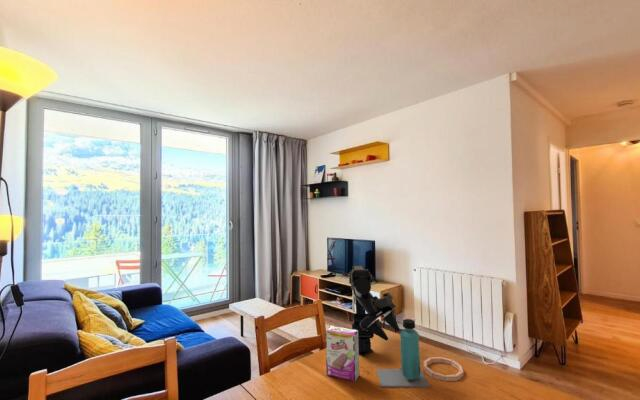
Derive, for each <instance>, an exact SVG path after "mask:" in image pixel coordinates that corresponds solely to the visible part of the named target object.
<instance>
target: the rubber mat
mask: <svg viewBox="0 0 640 400" xmlns="http://www.w3.org/2000/svg"><path fill="white" fill-rule="evenodd" d="M376 372H377V377H378V380H379V384H380V387H381V388H430V387H431V386H430V384H429V382H428V380H427V379H426V376H425V374H424V373H423V370H422V369H421V370H420V374H421V375H420V377H419V378H417V379H409V378H406V377H404V376H403V374H402V369H400V368H395V369H394V368H392V369H391V368H388V369H387V368H386V369H385V368H383V369H382V368H381V369H380V368H379V369H378V368H377V369H376Z"/></svg>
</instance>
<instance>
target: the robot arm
mask: <svg viewBox="0 0 640 400" xmlns="http://www.w3.org/2000/svg"><path fill="white" fill-rule="evenodd" d="M348 283H349V285H350V289H351V290H352V291H353V294H352V295H354V296H353V297H354V301H355V304H354V305H355V313H354V314H353V318H352V319H353V320H352V321H353V322H352V323H351V329H354V330H358V342H359V356H361V357H364V356H367V355H368V354H370V353H371V354H372V353H374V349H372V343H371V339H373V338H374V337H375V336H374V335H376V336H378V337H379V338H381V339H382V340H385V341H388V340H389V337H388V335H387V334H386V332H385V331H384V329H383V327H382V326H381V324H380V318H381V317H382V320H383V321H384V322H385V323H386V324H388V326H390V327H391V328H392V329H393V330H394V331H396V332H399V333H400V332H401V331H400V326H399V325H398V321H397V320H396V319H397V318H396V317H395V312H396V308H397V307H396V305H395V304H394V302H393V300H394V297H393V296H392V295H391V294H390V293H389V292H385V293H383V295H382V297H380V298H379V297H378V296H376V295H374V296H373V293H372V292H371V290H372V283H374V279H373V275H372V273H371V272H370V271H369V269H368V268H367V269H365V268H364V265H361V264H358V265H357V264H354V265H352V269H351V270H350V271H349V272H348Z"/></svg>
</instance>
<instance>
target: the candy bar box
mask: <svg viewBox="0 0 640 400" xmlns="http://www.w3.org/2000/svg"><path fill="white" fill-rule="evenodd" d="M325 359H326V362H325V363H326V364H325V365H326V366H325V367H326V370H325V371H326V375H327V376H329V377H334V378H338V379H343V380H345V381H351V382H354V383H355V382H356V381H357V380H358V377H359V376H360V355H359V342H358V330H354V329H352V328H346V327H341V326H340V327H339V326H336V325H329V326H328V327H327V328H326V329H325Z"/></svg>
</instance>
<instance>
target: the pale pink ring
mask: <svg viewBox="0 0 640 400" xmlns="http://www.w3.org/2000/svg"><path fill="white" fill-rule="evenodd" d="M433 363H434V364H435V363H442V364H447V365H449V366H450V365H451V366H453V367H454V368H455V369H457V370H458V372H456V373H455V374H442V373H439V372H435V371H433V370H432V369H431V368H429V367H428V366H429V365H431V364H433ZM423 368H424V369H423V371H424V372H425V373H426V374H427V375H429V376H430V377H431V378H434V379H437V380H439V381H444V382H454V381H455V382H456V381H459V380H460V379H462V378H463V377H464V369H463V367H462V365H461V364H460V363H458V362H457V361H455V360H454V359H451V358H446V357H443V356H442V357H441V356H435V357H434V356H433V357H428V358H427V359H425V360H424V361H423Z"/></svg>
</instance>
